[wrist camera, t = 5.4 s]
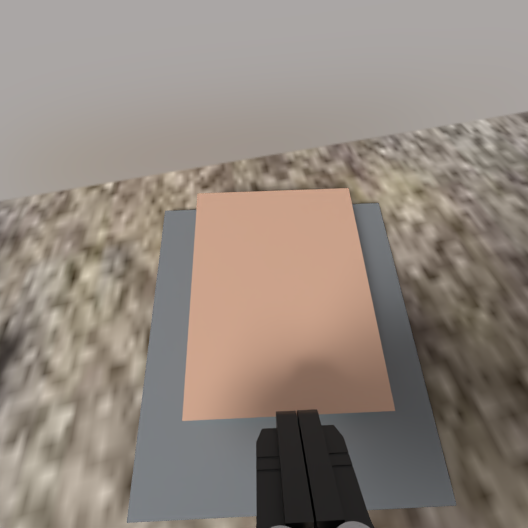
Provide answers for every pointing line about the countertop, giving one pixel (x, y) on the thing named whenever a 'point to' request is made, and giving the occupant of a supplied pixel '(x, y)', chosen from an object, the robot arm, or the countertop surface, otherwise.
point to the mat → (248, 429)
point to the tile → (281, 309)
